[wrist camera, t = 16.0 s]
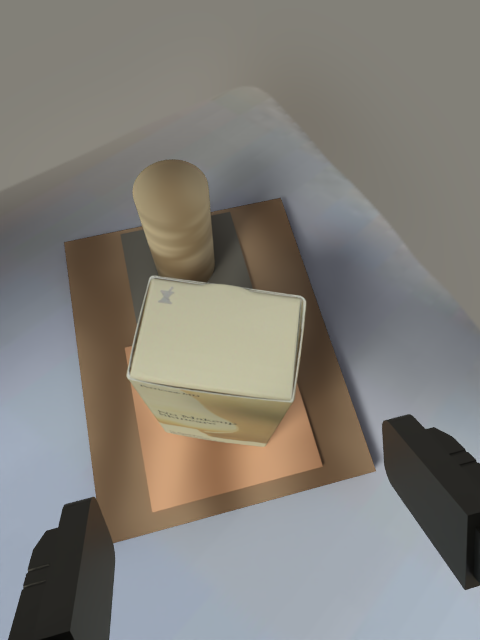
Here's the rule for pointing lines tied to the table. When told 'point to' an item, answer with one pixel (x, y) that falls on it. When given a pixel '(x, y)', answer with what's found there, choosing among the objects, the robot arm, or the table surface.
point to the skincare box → (217, 358)
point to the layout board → (129, 408)
